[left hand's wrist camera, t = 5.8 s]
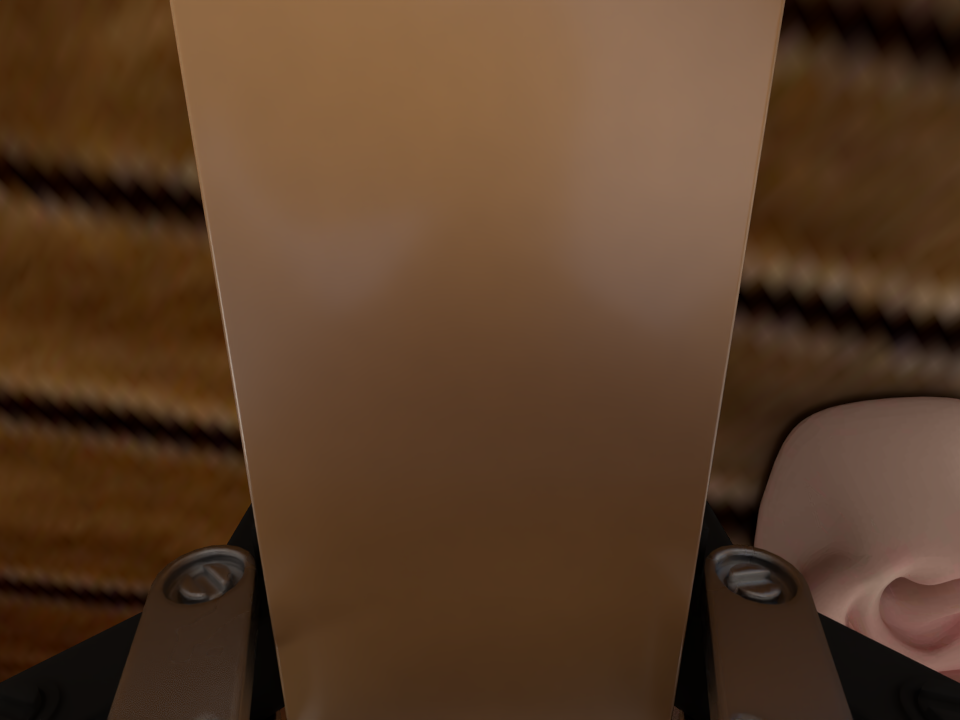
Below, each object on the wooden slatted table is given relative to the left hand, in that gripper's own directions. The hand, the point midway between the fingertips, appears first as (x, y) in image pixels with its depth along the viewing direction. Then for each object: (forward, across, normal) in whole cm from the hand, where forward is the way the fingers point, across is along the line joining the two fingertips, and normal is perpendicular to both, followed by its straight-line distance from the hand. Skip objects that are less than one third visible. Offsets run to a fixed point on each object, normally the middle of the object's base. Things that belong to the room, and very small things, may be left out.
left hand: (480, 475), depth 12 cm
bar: (+2, 0, -29) cm, 29 cm away
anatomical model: (+10, +17, -9) cm, 21 cm away
